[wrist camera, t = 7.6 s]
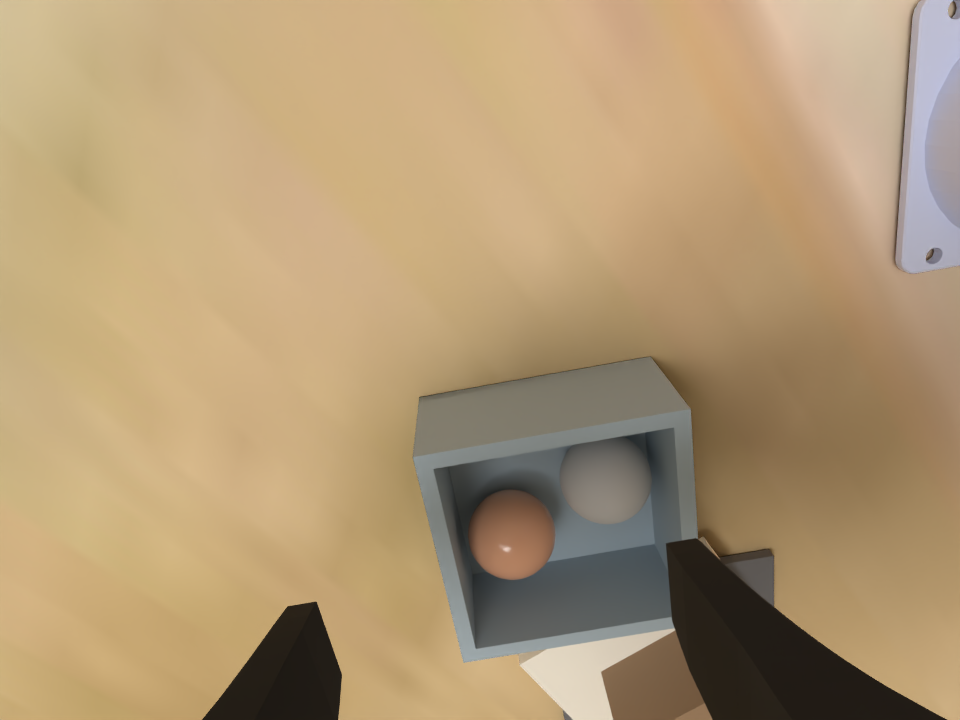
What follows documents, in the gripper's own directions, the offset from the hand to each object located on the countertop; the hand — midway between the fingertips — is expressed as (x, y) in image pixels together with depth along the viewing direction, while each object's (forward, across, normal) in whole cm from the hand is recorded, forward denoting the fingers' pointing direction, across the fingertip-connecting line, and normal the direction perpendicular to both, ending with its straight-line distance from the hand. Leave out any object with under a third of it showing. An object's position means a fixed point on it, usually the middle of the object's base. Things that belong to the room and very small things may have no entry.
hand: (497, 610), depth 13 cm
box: (+10, -2, +4) cm, 11 cm away
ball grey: (+10, -4, +3) cm, 11 cm away
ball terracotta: (+10, 0, +4) cm, 10 cm away
